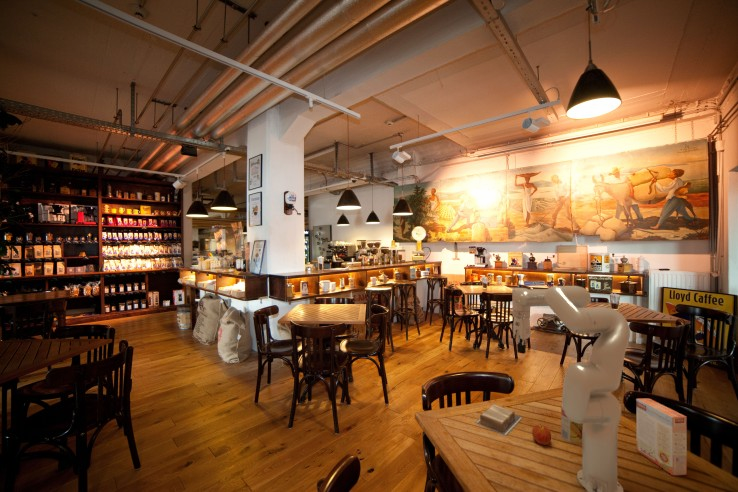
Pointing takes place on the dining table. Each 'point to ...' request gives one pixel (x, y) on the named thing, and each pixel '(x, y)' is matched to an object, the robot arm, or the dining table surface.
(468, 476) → the dining table surface
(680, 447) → the cracker box
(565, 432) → the canned food
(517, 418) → the mat
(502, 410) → the plaque
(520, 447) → the dining table surface
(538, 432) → the fruit
